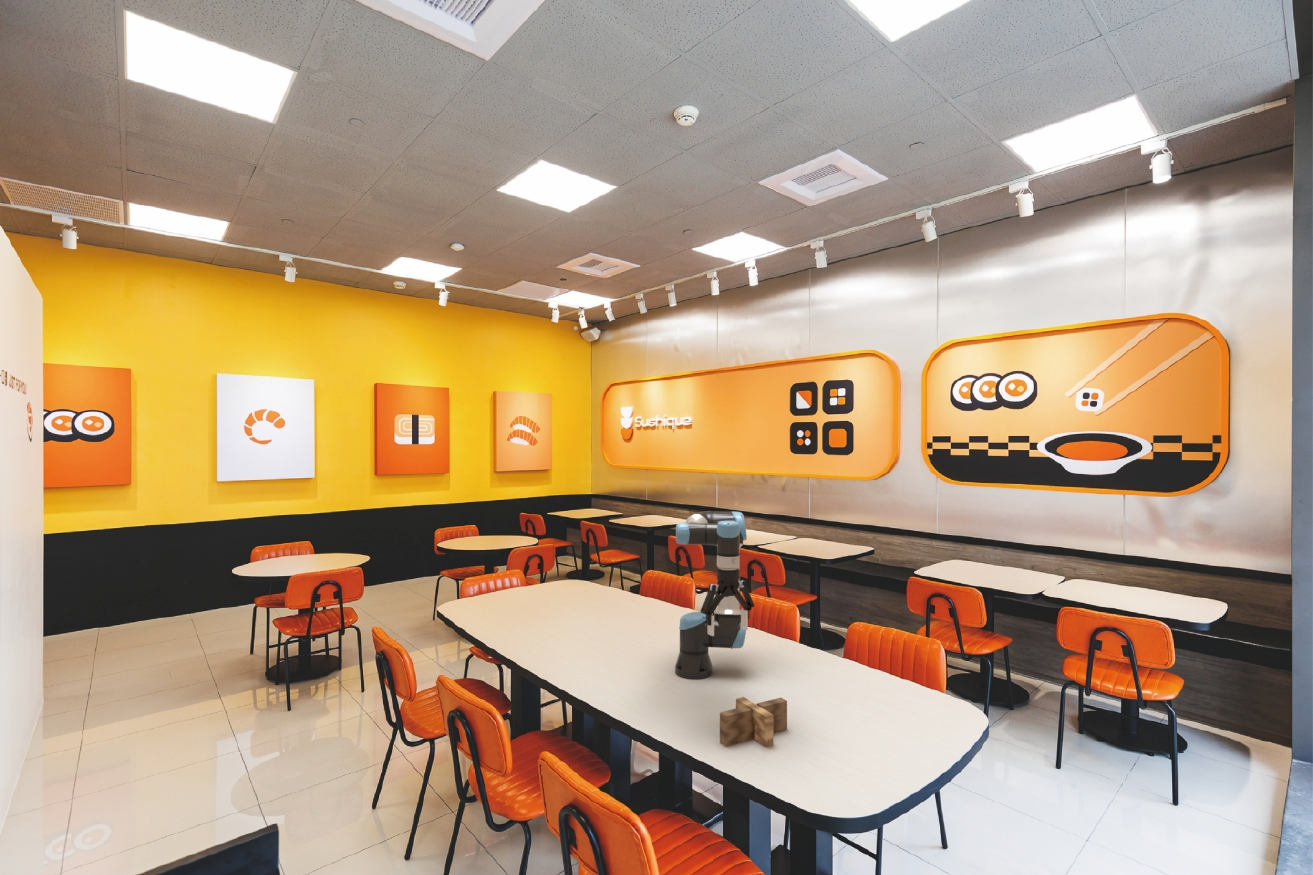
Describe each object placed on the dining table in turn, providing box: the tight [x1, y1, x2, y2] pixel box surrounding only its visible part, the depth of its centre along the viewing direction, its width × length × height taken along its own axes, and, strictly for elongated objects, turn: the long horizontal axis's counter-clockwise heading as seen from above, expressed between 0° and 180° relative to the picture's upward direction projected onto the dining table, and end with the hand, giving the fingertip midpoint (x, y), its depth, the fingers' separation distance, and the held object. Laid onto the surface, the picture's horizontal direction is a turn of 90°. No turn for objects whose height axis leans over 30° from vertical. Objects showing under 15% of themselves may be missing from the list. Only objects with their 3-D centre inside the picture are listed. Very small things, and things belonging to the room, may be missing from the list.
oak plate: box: [735, 696, 774, 748], centre depth 189 cm, size 15×3×9 cm, turn 29°
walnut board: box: [719, 697, 788, 747], centre depth 189 cm, size 24×3×9 cm, turn 119°
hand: (727, 631), depth 201 cm, fingers open, 13 cm apart
